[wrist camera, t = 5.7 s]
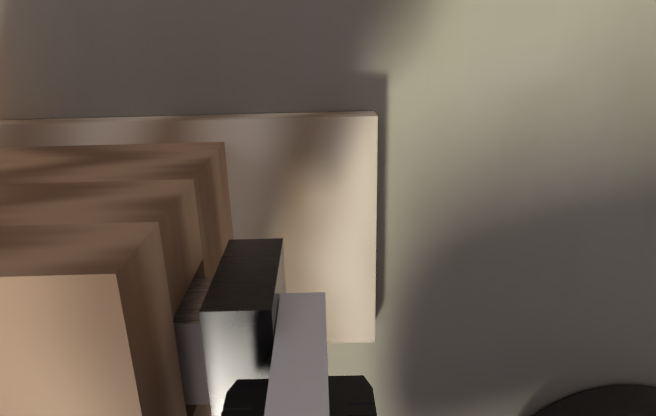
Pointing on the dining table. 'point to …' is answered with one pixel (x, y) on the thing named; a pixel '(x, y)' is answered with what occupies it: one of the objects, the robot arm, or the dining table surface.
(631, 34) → the dining table surface
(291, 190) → the block
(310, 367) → the robot arm
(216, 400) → the shaft
